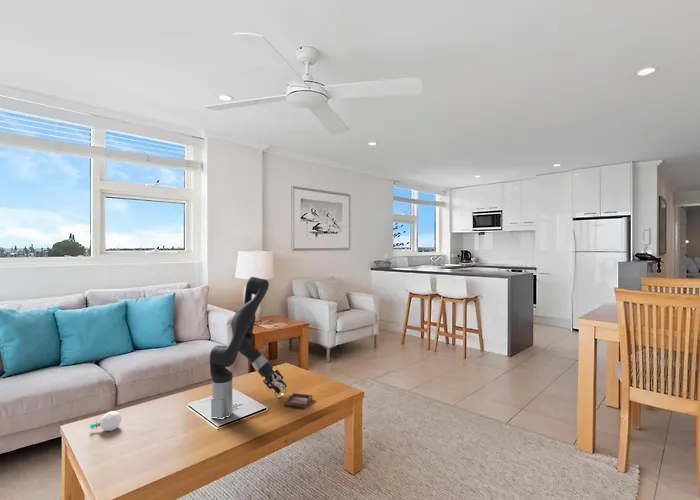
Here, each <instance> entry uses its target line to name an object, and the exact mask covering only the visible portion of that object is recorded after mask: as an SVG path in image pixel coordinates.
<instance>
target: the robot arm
mask: <svg viewBox="0 0 700 500" xmlns="http://www.w3.org/2000/svg"><path fill="white" fill-rule="evenodd" d="M269 287H270V283H269V280H268V279H265V278H260V277H254V276H250V277H249V278H248V279H247V282H246V286H245V292H244V293H245V294H244V303H243V305H241V306H240V307H238V308H237V310H236V311H235V313H234V315H233V317H232V319H231V324H230V325H231V326H230V327H231V333H232V337H231V340H230V343H229V344H228V346H225V345H215V346H214V347H213V348H212V349H211V351H210V354H209V367H210V368H209V369H210V370H209V371H210V376H211V397H212V398H210V410H211V411H210V412H211V413H210V416H211V417H217V418H223V417H226V416H229V415H231V414H232V412H233V411H234V410H233V373H232V371H230V370H229V369H228V368H229V367H230V368H231V366H233V364H234V363H235V361H236V359H237V357H238V353H239V354H241V355H242V356H244V357H245V358H247V360H248V362H250V364H252V367H253V368H254V370H256V372H257V374H259V375H260V376H261V377H262V378H264V379H263V380H262V382H263V384H265V385H266V387H267V388H268V389H269V390H272V389H273V391H274V390H275V391H276V395H279V394H280V393H281V392H282V391H281V389H280V387H279V388H278V386H276V385H277V384H278V383H283V385H285V388H287V384H286V383H285V381H284V380H283V379H284V376H283V375H282V373H281V372H280V371H279V370H278V369H275V370H273V369H274V366H273V365H272V364H271V363H270V361H269V360H268V359H267V358H266V357H265V356H264V355H263V354H262V353H261V352H260V351H259V350H258V349H257V348H256V347H253V346H252V343H253V336H254V334H253V333H254V332H253V331H254V327H255V323H256V313H257V310H258V308H259V306H260V304H261V303H262V301H263V299H264V297H265V296H266V294H267V293H268V291H269ZM253 295H254V296H253ZM276 382H277V384H276ZM232 415H233V414H232ZM232 415H231V416H232ZM211 417H210V418H211Z"/></svg>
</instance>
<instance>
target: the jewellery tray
mask: <svg viewBox="0 0 700 500" xmlns="http://www.w3.org/2000/svg"><path fill="white" fill-rule="evenodd" d="M312 401H313V395H312V394H305V393H304V394H303V393H298V392H292V393H291V394H290V395H289V396H288V397H287V398H286V399H285V400H284V402H283V404H284V405H283V407H287V408H292V409H299V410H300V409H301V410H305V409H306V408H307V407H308V406H309V404H310V403H311V402H312Z"/></svg>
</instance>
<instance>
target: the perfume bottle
mask: <svg viewBox="0 0 700 500" xmlns="http://www.w3.org/2000/svg"><path fill="white" fill-rule="evenodd" d="M121 422H122V415H121V414H120V413H119V412H118V411H114V410H113V411H111V410H110V411H108V412H107V413H105V414H103V415H102V417H101V418H100V420H99V422H97V421H95V423H91V424H90V425H89V427H90V429H97V428H98V427H100V428H101V429H102V430H104V432H113V431H114V430H116V429H117V428H119V426H120V424H121Z"/></svg>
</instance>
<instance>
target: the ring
mask: <svg viewBox="0 0 700 500" xmlns="http://www.w3.org/2000/svg"><path fill="white" fill-rule="evenodd" d="M276 386H277V387H278V388H279V389H280V388H281V387H282V389H283V392H282V393H281V395H279V396H278V395H277V393H276V391H275V390H274V389H273V397H275V398H277V399H281V398H283V396H284V395H286V390H287V389H286V388H287V387H285V385H283V383H278V382H277V384H276Z"/></svg>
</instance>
